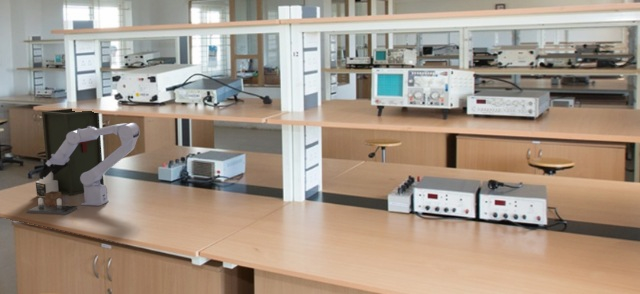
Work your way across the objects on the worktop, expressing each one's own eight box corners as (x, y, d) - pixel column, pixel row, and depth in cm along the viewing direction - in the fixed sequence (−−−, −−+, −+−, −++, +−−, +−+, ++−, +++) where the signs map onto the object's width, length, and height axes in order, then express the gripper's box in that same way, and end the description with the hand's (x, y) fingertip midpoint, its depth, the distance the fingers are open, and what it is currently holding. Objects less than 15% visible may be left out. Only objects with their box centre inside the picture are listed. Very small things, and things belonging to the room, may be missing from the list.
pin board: (77, 208, 250) (76, 196, 249) (65, 214, 242) (64, 201, 241) (40, 207, 253) (39, 194, 252) (27, 212, 245) (26, 199, 244)
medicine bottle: (36, 196, 272) (34, 171, 270) (49, 192, 279) (47, 169, 277) (46, 197, 269) (44, 173, 267) (59, 194, 275) (57, 170, 273)
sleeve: (62, 202, 261) (61, 191, 261) (55, 205, 257) (54, 194, 256) (52, 201, 262) (51, 191, 261) (45, 204, 257) (44, 194, 256)
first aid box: (71, 195, 273) (65, 113, 266) (48, 190, 282) (41, 111, 276) (104, 187, 288) (98, 110, 282) (81, 183, 298) (75, 108, 291)
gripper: (67, 144, 263) (51, 166, 266) (48, 148, 249) (31, 171, 251) (78, 154, 263) (62, 176, 265) (59, 158, 249) (43, 181, 251)
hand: (48, 174), depth 258 cm, fingers open, 7 cm apart
